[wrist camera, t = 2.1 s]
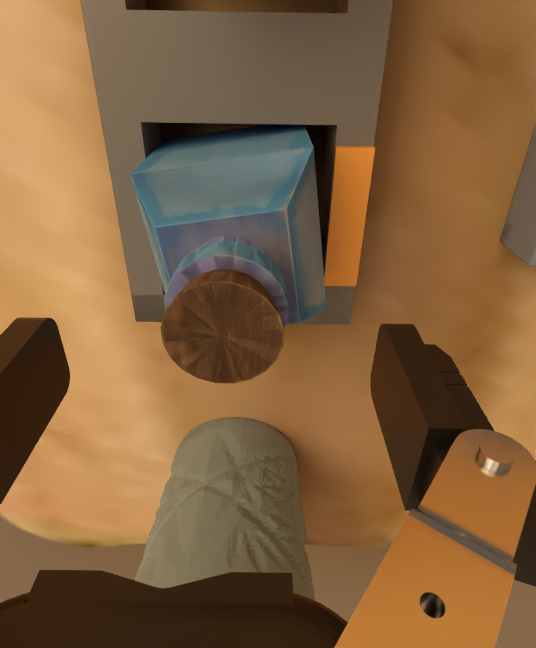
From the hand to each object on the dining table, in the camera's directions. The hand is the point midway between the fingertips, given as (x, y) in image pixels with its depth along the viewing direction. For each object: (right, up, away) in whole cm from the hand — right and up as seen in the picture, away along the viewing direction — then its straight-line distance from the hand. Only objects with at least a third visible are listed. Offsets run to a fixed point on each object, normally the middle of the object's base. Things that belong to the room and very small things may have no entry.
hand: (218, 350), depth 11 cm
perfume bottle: (0, +7, +10) cm, 13 cm away
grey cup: (-1, -9, +21) cm, 23 cm away
